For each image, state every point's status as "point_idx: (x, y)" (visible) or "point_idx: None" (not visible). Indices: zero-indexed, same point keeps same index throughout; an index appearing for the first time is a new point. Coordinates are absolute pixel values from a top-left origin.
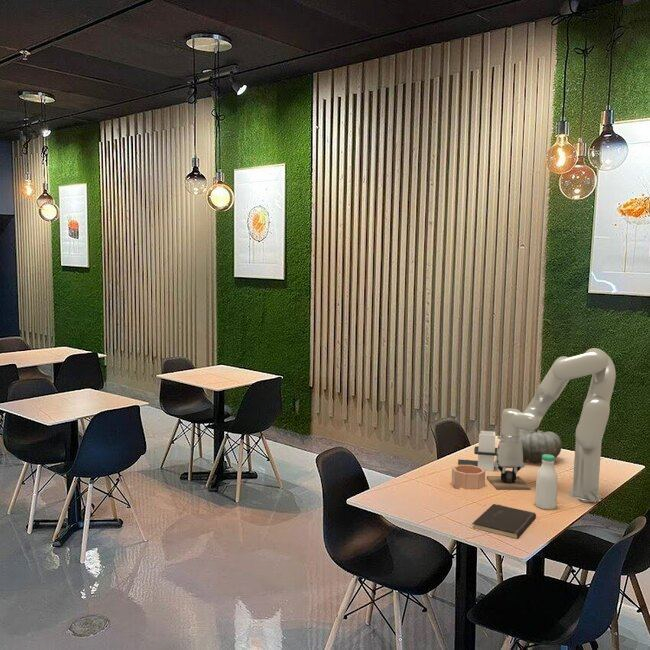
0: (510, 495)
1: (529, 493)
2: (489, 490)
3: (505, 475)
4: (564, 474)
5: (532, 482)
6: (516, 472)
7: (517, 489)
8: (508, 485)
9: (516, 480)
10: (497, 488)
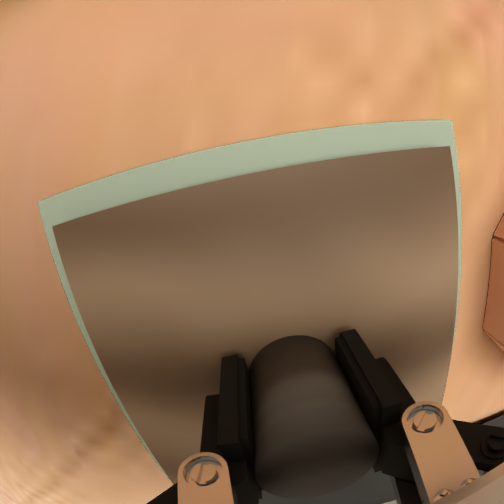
0: (304, 48)
1: (83, 166)
2: (474, 179)
3: (376, 387)
4: (11, 486)
5: (87, 438)
6: (194, 466)
7: (204, 183)
8: (311, 269)
9: (196, 426)
10: (444, 146)
